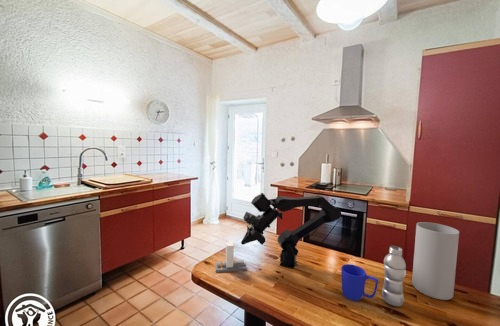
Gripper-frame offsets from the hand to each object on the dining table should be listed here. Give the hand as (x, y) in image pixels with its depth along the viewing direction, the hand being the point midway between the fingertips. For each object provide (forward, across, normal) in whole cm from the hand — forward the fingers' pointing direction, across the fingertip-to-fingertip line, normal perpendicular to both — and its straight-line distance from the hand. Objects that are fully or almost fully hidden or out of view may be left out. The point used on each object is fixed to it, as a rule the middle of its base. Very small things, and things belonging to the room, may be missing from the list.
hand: (241, 243), depth 99 cm
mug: (-20, +26, +36) cm, 49 cm away
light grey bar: (+11, 0, +4) cm, 12 cm away
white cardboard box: (+10, 0, +3) cm, 11 cm away
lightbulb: (-33, +23, +48) cm, 63 cm away
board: (+11, 0, +4) cm, 12 cm away
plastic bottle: (-28, +29, +43) cm, 59 cm away
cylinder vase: (-43, +25, +59) cm, 77 cm away
